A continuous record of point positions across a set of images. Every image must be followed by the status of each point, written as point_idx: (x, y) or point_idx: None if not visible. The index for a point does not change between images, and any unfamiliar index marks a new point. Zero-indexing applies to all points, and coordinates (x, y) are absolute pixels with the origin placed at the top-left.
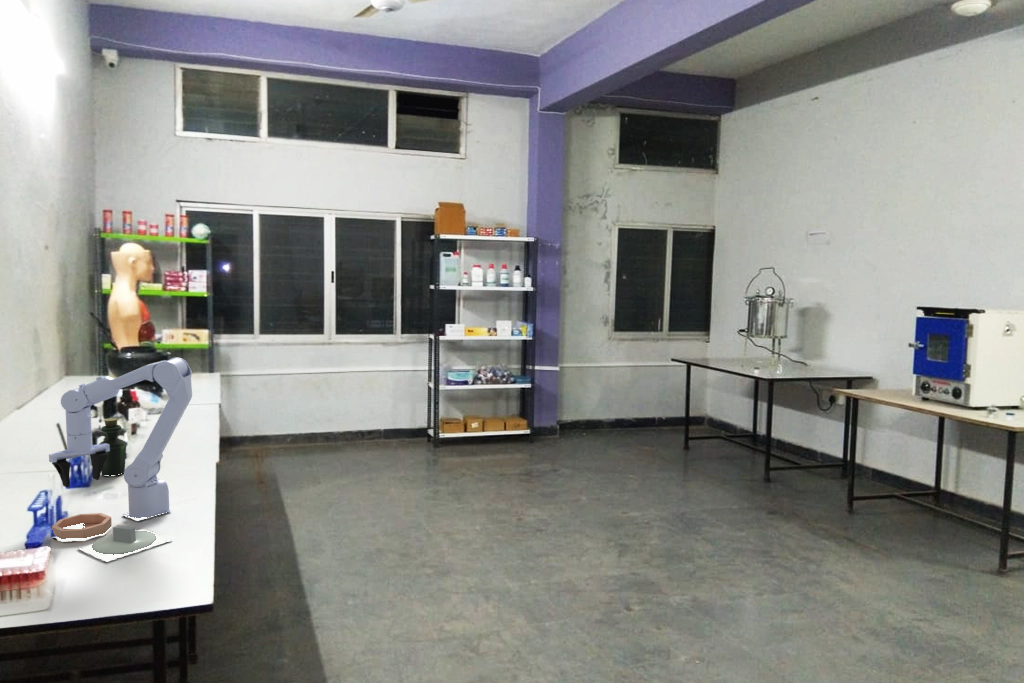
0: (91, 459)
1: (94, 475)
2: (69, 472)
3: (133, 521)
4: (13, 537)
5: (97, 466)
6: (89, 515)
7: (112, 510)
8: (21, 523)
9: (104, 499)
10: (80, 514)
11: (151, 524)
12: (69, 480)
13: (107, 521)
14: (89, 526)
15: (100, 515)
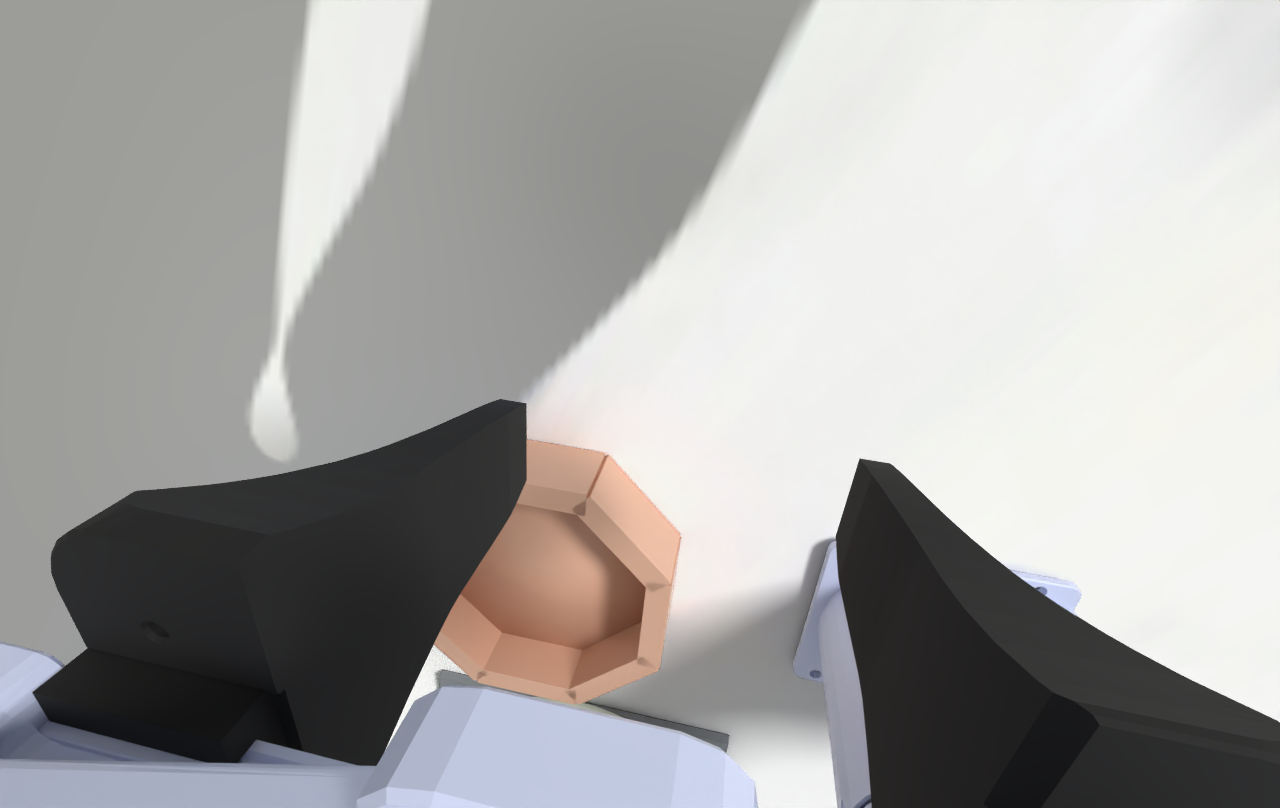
0: (966, 641)
1: (857, 524)
2: (435, 639)
3: (795, 636)
4: (287, 297)
5: (872, 701)
6: (613, 548)
7: (905, 392)
8: (387, 56)
9: (1167, 39)
10: (584, 502)
11: (802, 724)
12: (490, 542)
13: (609, 689)
14: (591, 555)
15: (644, 607)
